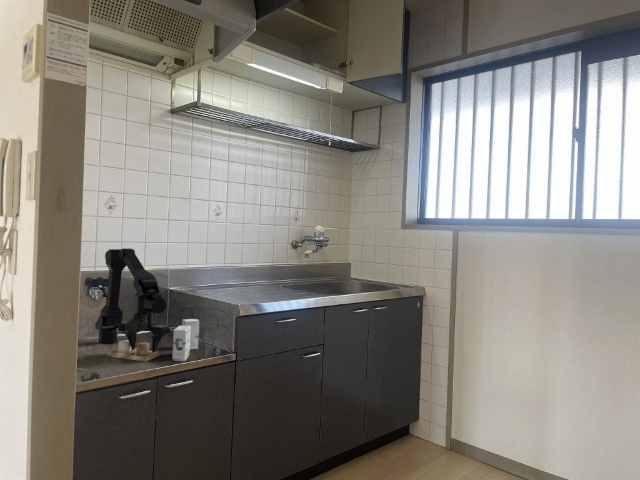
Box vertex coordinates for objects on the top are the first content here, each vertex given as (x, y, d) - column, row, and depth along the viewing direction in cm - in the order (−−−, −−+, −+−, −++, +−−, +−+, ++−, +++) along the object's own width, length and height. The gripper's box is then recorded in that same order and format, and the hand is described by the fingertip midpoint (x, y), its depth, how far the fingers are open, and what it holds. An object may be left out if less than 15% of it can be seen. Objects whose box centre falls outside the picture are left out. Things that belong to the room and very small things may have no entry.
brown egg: (133, 357, 183) (134, 344, 183) (141, 355, 187) (141, 341, 187) (144, 359, 182) (144, 345, 181) (151, 356, 186) (151, 343, 186)
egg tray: (107, 357, 183) (107, 352, 183) (122, 352, 191) (122, 347, 191) (145, 363, 179) (145, 357, 179) (159, 357, 187) (159, 352, 187)
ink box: (177, 354, 192) (178, 324, 192) (190, 355, 192) (191, 325, 192) (171, 360, 183) (173, 329, 183) (185, 361, 184) (186, 330, 183)
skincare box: (183, 351, 198) (185, 321, 197) (180, 348, 201) (181, 319, 201) (198, 349, 201) (199, 320, 201) (194, 347, 205) (196, 318, 205)
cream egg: (115, 355, 185) (116, 342, 185) (123, 352, 189) (123, 339, 189) (125, 356, 183) (126, 343, 183) (133, 353, 188) (133, 340, 188)
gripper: (109, 310, 178) (107, 353, 179) (153, 315, 173) (152, 359, 174) (128, 306, 189) (127, 346, 189) (171, 310, 184) (169, 351, 185)
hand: (143, 351), depth 184 cm, fingers open, 8 cm apart
